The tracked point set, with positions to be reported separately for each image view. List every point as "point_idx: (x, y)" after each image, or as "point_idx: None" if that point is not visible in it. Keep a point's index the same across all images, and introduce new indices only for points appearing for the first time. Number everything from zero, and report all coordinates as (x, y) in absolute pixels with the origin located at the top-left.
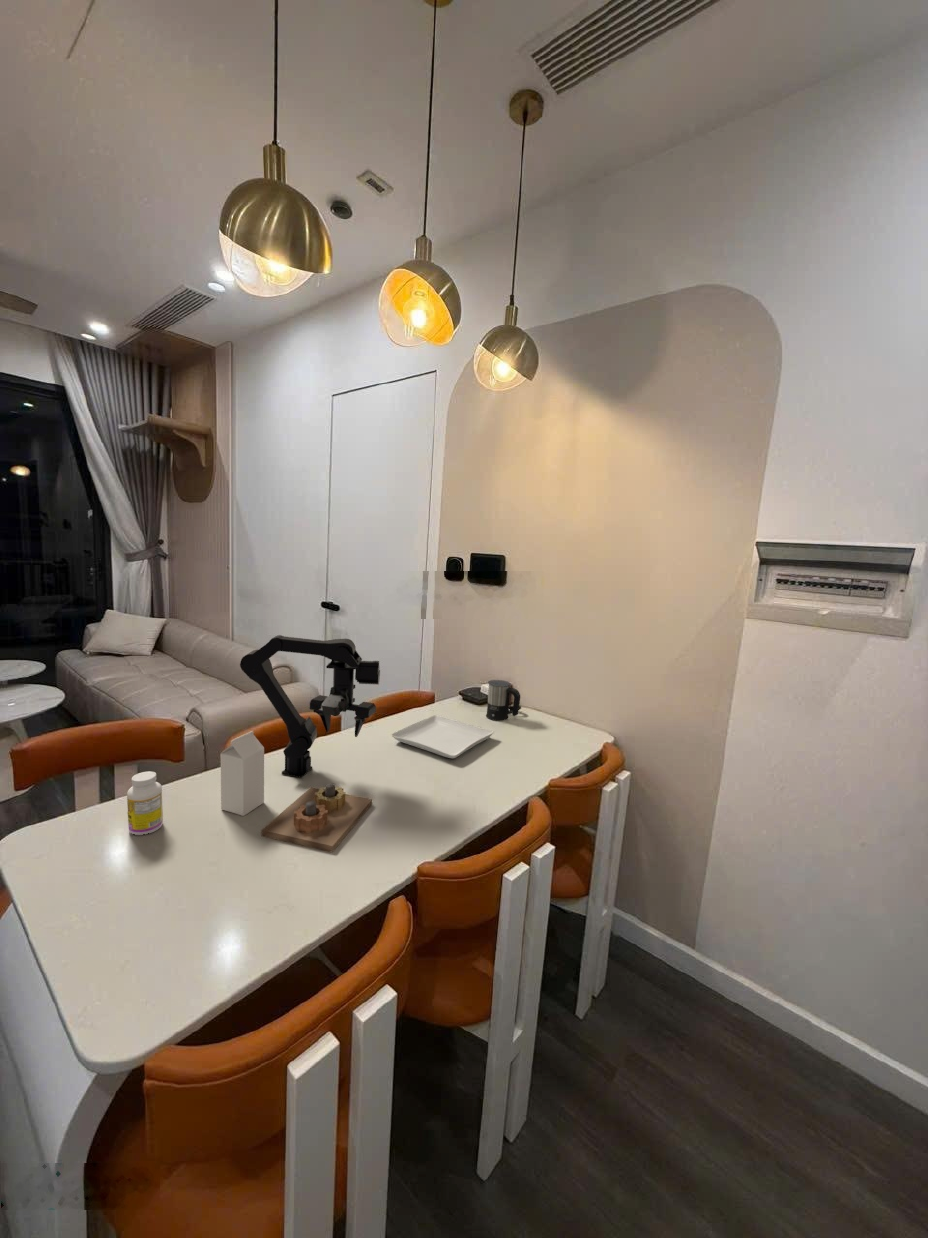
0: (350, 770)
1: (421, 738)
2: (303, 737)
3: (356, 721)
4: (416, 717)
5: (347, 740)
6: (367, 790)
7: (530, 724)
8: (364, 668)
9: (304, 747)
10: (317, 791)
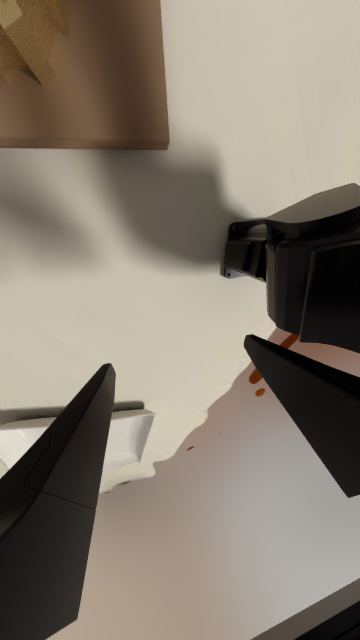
0: (151, 307)
1: (120, 427)
2: (349, 219)
3: (15, 511)
4: (166, 444)
5: (214, 376)
6: (37, 242)
7: None
8: None
9: (290, 219)
10: (129, 108)
